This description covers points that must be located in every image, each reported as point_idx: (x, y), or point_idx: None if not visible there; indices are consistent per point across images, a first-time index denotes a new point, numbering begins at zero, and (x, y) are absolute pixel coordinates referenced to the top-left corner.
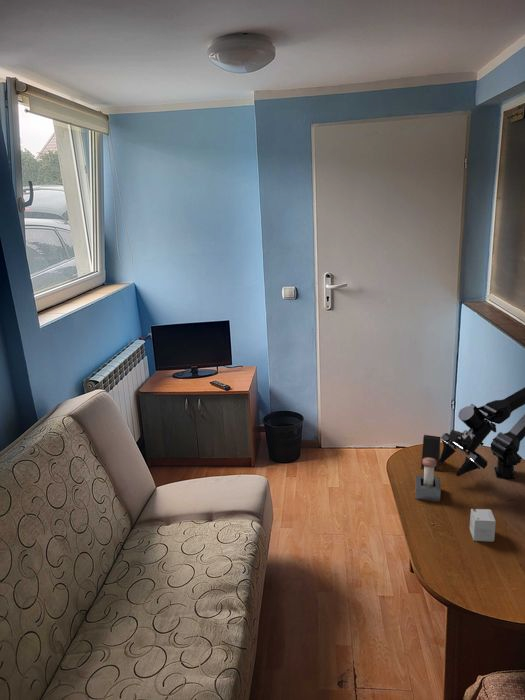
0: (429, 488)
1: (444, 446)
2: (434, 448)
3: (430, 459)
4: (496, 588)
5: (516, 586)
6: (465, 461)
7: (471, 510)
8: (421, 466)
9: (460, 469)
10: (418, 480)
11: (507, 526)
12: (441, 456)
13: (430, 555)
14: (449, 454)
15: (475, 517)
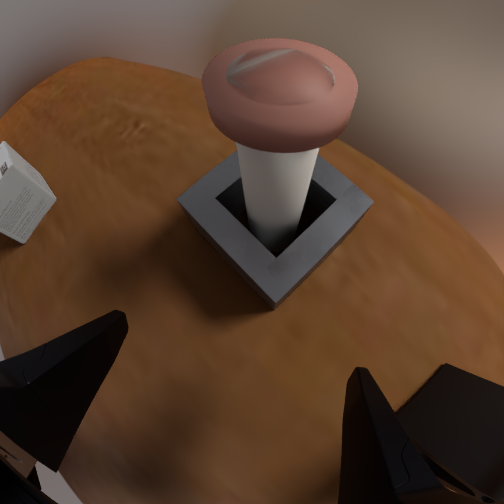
0: (227, 164)
1: (439, 496)
2: (484, 455)
3: (299, 91)
4: (7, 133)
5: None
6: (7, 382)
7: (11, 160)
8: (450, 366)
9: (75, 337)
10: (322, 172)
11: (5, 300)
12: (382, 407)
13: (99, 78)
14: (348, 493)
15: (2, 148)
